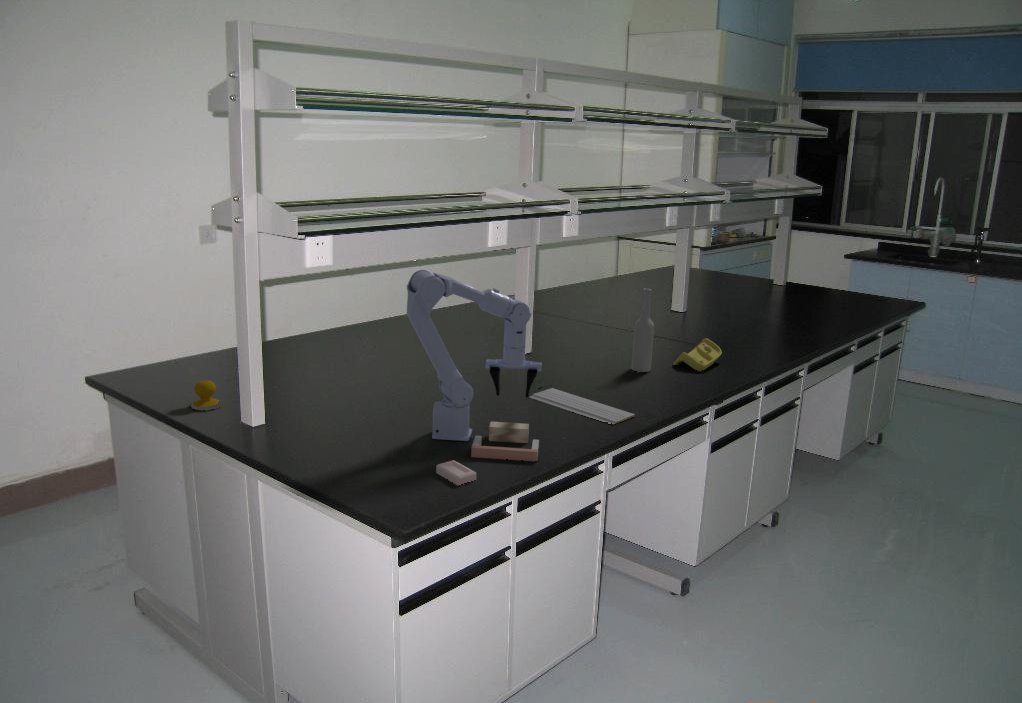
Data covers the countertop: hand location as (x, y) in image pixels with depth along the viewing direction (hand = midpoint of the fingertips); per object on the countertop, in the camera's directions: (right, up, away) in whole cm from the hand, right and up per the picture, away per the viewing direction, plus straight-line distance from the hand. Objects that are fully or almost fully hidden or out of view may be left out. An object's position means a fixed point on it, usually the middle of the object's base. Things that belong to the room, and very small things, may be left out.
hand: (512, 395), depth 212 cm
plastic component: (+66, +7, +71) cm, 97 cm away
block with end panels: (-2, -13, -13) cm, 19 cm away
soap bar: (-13, -18, -28) cm, 35 cm away
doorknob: (-85, -4, +10) cm, 86 cm away
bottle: (+44, +5, +61) cm, 75 cm away
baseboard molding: (+19, -6, +21) cm, 29 cm away
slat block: (-1, -11, -5) cm, 12 cm away
